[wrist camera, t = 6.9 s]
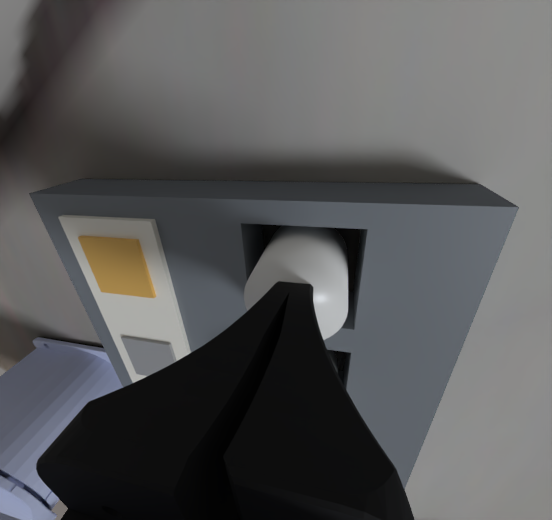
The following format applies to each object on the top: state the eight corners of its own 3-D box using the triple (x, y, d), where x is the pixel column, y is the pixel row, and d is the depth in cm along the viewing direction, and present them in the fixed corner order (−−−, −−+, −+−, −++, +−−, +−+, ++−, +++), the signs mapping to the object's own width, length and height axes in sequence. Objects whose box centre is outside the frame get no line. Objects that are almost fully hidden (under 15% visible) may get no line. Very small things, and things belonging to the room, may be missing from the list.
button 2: (270, 284, 15) (248, 336, 12) (266, 216, 13) (238, 255, 10) (344, 291, 14) (343, 349, 11) (351, 219, 12) (353, 263, 9)
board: (164, 398, 25) (140, 438, 22) (81, 179, 16) (18, 196, 13) (395, 446, 21) (403, 502, 18) (480, 184, 11) (527, 212, 8)
